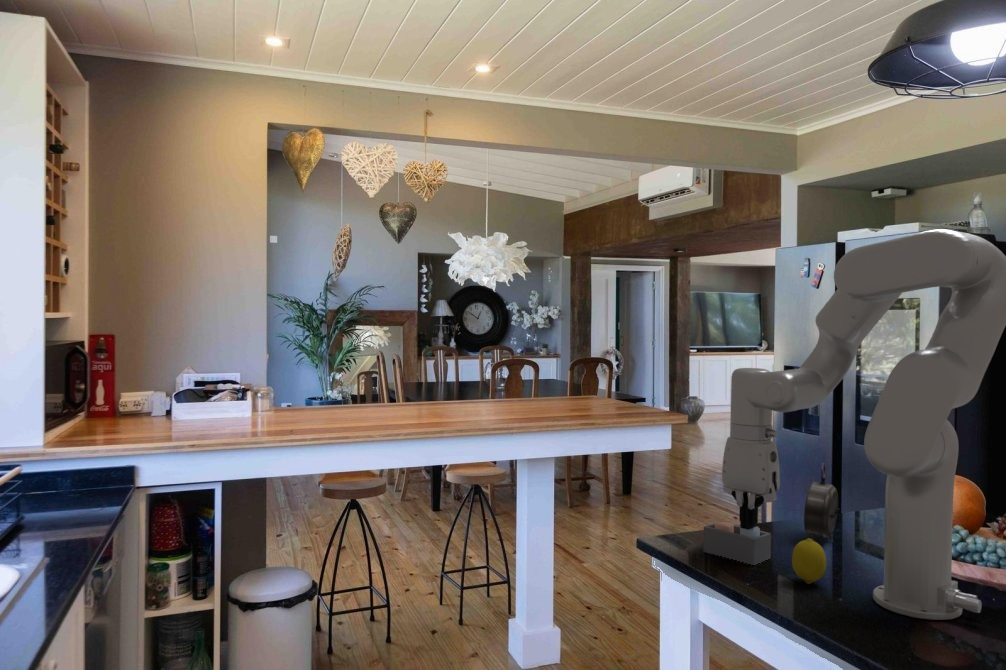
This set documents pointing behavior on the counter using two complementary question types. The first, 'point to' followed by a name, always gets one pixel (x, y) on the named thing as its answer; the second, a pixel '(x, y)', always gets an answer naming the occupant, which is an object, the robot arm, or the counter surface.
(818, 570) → the lemon
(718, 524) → the peach rounded cube
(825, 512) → the alarm clock
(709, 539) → the grey storage bin
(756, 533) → the pale blue cube
